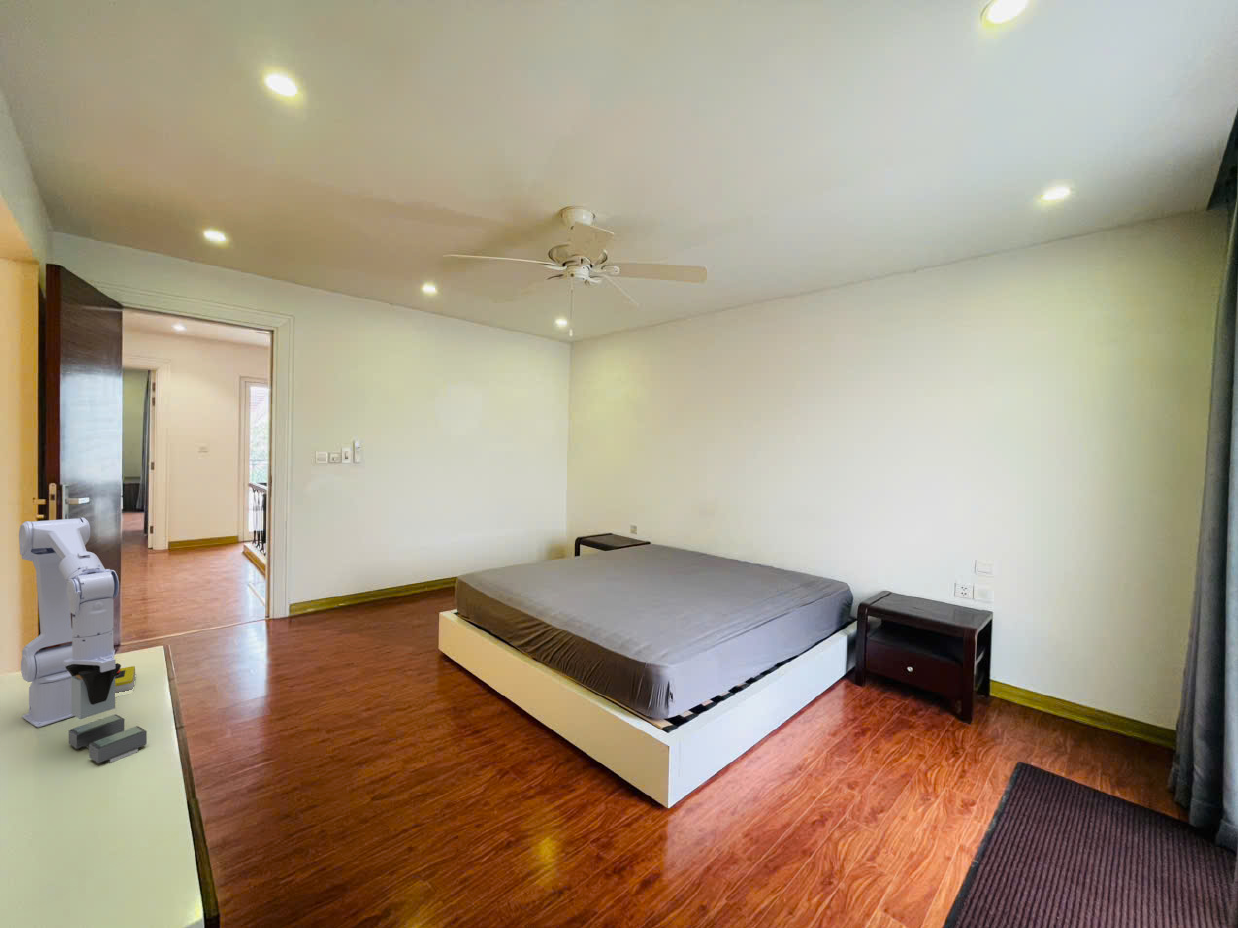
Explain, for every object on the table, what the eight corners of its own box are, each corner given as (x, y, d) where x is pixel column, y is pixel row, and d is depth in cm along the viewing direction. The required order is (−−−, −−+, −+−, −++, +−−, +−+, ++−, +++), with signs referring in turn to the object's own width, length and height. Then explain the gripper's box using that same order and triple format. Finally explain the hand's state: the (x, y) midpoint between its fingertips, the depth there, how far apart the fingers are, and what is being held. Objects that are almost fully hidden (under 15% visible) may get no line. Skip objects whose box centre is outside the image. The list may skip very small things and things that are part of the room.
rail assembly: (67, 746, 99) (67, 728, 99) (114, 729, 105) (114, 712, 105) (99, 767, 93) (99, 748, 92) (147, 748, 99) (147, 730, 99)
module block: (71, 714, 99) (71, 675, 99) (105, 703, 103) (105, 666, 103) (80, 719, 97) (80, 680, 97) (115, 708, 101) (115, 670, 101)
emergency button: (136, 659, 132) (133, 678, 121) (136, 675, 132) (132, 695, 121) (85, 668, 126) (77, 689, 115) (85, 685, 126) (77, 708, 115)
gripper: (50, 633, 99) (50, 700, 99) (79, 645, 93) (79, 717, 93) (99, 622, 106) (99, 685, 106) (129, 633, 99) (129, 700, 99)
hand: (93, 699), depth 100 cm, fingers closed on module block, 4 cm apart
